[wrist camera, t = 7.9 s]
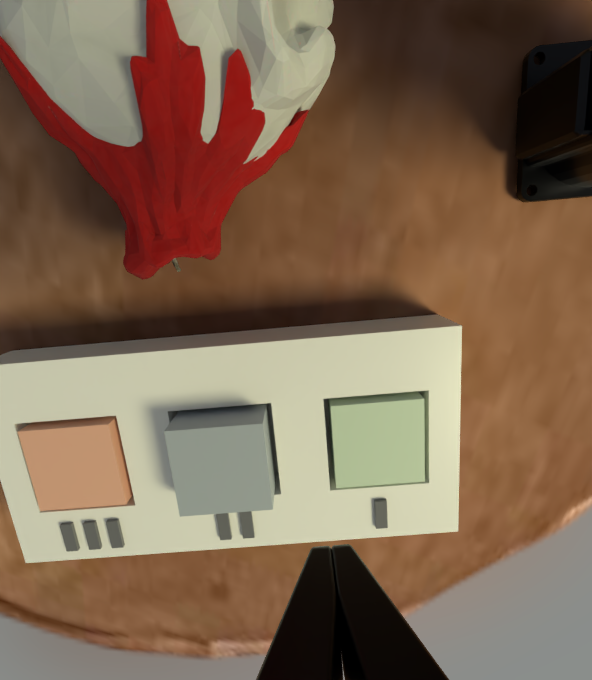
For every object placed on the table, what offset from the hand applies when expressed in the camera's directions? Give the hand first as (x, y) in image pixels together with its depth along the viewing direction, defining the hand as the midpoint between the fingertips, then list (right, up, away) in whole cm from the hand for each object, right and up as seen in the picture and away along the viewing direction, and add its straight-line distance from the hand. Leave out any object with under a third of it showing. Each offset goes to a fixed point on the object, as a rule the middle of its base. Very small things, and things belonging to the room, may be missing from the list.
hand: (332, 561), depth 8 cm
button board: (-4, 0, +13) cm, 14 cm away
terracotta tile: (-12, -1, +13) cm, 17 cm away
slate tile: (-4, -1, +11) cm, 12 cm away
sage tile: (+3, 0, +12) cm, 13 cm away
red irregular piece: (-5, +15, +10) cm, 19 cm away
